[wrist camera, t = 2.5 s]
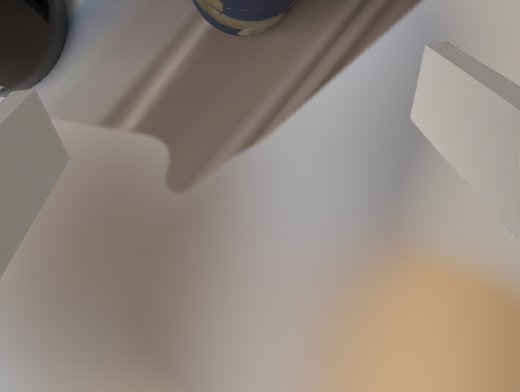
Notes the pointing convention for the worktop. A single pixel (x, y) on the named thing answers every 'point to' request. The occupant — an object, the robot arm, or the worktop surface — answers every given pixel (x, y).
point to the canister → (243, 14)
